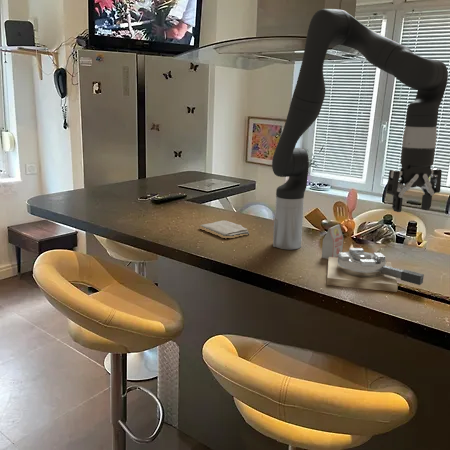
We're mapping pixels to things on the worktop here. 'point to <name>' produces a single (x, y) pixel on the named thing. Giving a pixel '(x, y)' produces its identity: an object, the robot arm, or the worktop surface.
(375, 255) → the grey frying pan
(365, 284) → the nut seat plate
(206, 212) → the worktop surface
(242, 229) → the washcloth
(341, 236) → the white carton
